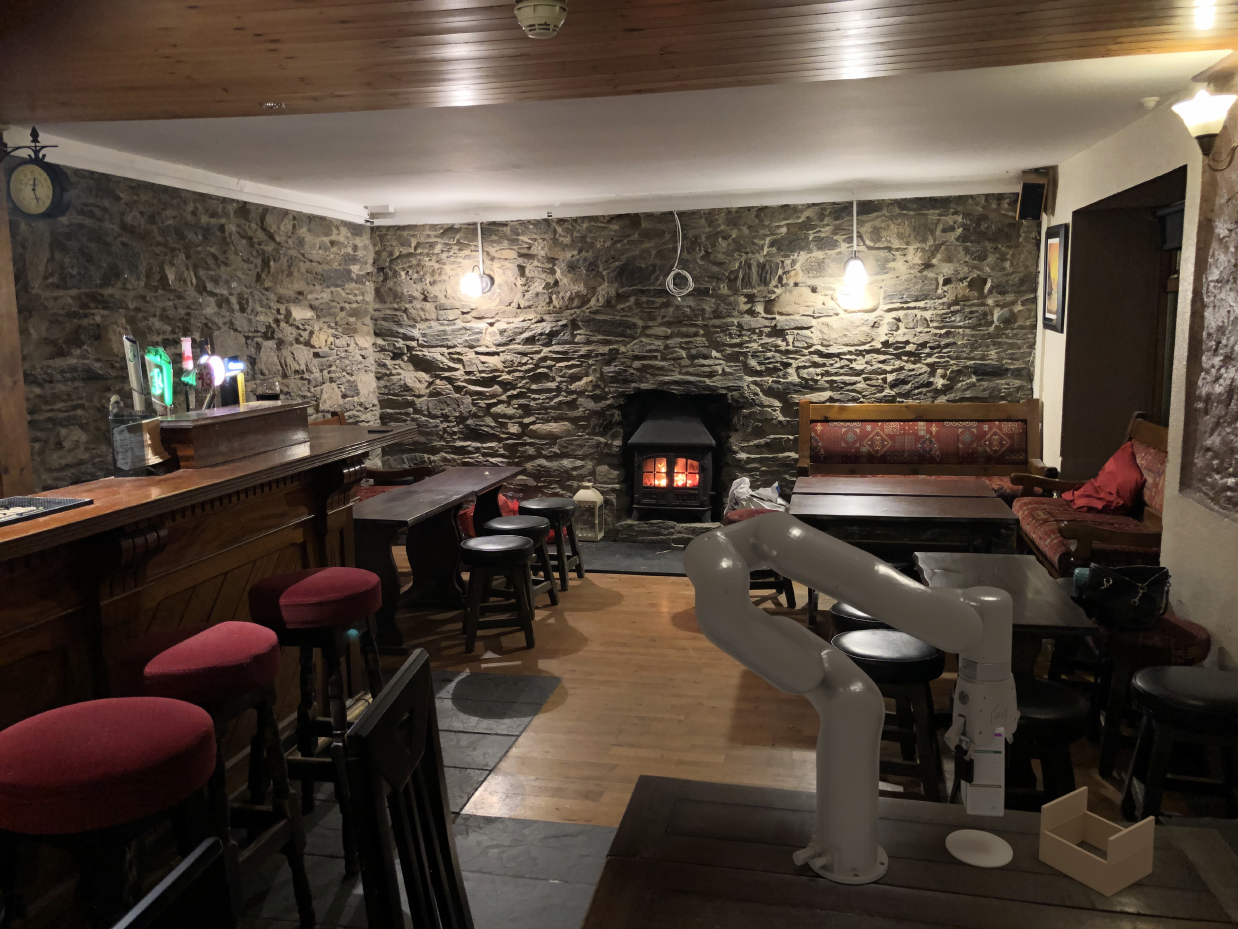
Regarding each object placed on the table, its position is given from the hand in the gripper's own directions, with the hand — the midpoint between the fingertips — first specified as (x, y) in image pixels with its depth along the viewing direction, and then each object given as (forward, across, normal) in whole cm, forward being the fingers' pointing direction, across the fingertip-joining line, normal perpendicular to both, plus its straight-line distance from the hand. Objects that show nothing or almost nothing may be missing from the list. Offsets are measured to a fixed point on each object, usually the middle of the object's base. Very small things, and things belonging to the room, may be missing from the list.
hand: (982, 771), depth 140 cm
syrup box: (+6, 0, 0) cm, 6 cm away
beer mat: (+13, 0, 0) cm, 13 cm away
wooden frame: (+13, +11, -12) cm, 21 cm away
